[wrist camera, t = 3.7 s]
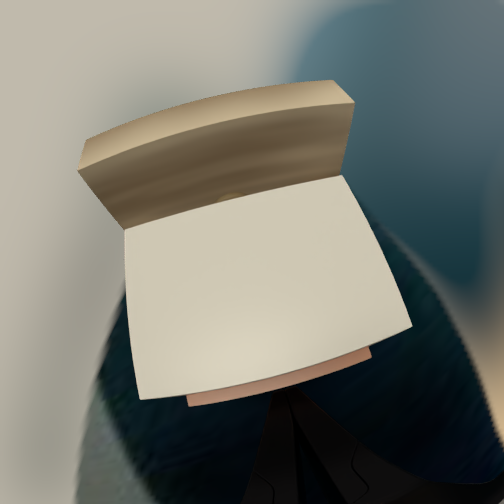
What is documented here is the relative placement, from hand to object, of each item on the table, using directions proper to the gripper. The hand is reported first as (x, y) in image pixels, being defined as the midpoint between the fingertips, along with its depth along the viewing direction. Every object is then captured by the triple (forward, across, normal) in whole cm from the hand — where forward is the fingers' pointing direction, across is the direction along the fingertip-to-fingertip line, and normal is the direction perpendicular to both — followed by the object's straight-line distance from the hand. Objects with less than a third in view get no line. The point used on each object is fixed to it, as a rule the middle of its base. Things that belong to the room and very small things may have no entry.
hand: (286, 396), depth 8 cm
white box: (+6, 0, +2) cm, 6 cm away
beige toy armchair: (+9, 0, 0) cm, 9 cm away
